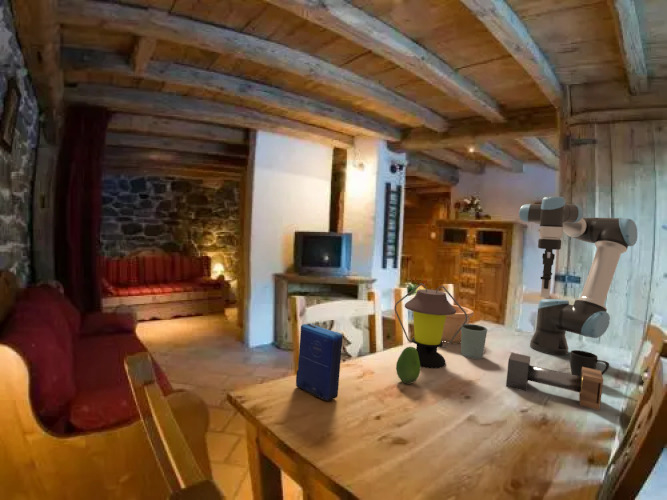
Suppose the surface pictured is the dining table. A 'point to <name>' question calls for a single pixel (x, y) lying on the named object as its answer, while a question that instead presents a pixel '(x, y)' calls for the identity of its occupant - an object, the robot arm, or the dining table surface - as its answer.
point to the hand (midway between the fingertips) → (545, 294)
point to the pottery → (455, 324)
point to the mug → (584, 361)
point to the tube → (555, 378)
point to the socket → (591, 388)
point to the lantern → (429, 324)
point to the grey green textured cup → (473, 340)
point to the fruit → (408, 365)
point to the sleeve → (518, 371)
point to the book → (319, 361)
